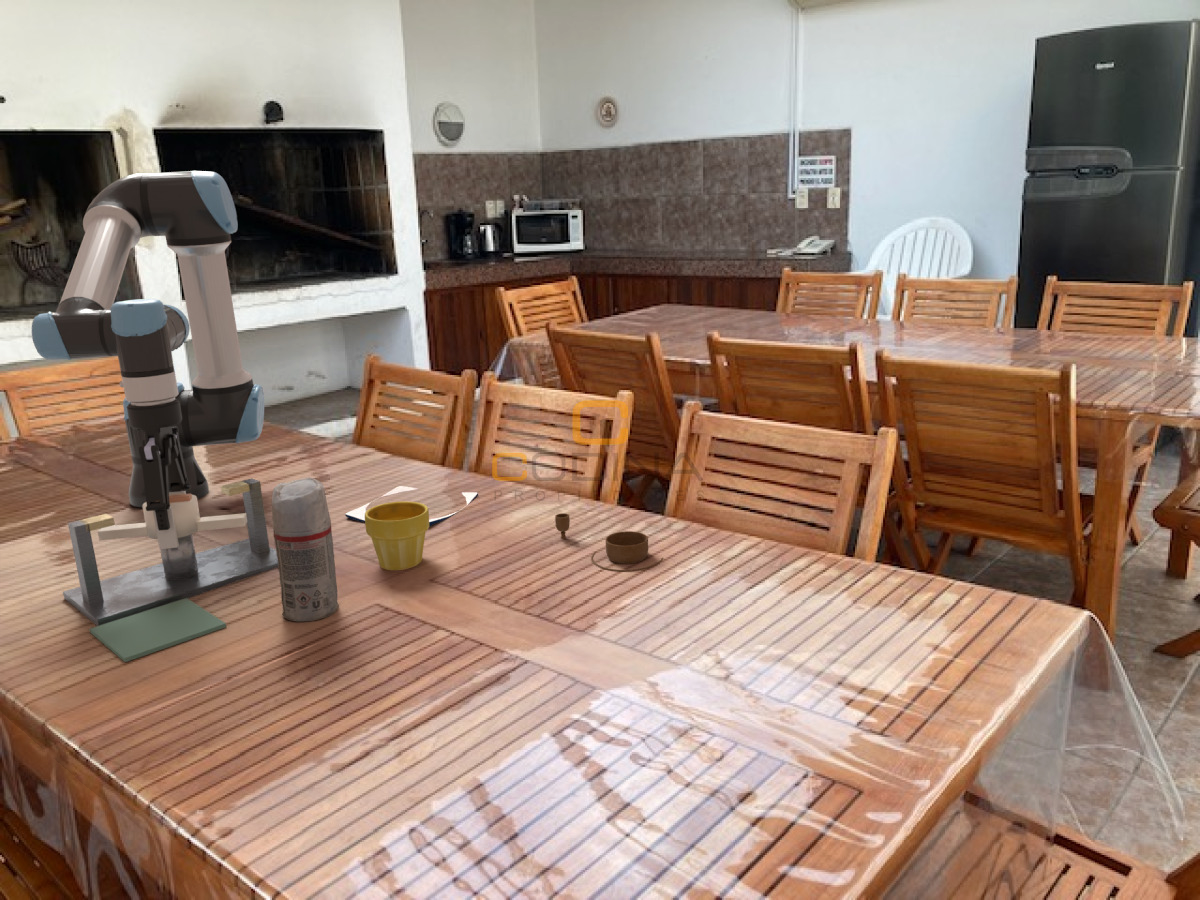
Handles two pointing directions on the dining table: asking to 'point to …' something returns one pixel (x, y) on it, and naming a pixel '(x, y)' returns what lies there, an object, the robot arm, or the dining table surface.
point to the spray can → (304, 550)
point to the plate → (360, 512)
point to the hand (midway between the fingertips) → (176, 538)
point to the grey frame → (169, 565)
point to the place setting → (616, 545)
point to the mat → (156, 629)
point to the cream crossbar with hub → (184, 521)
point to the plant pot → (398, 533)
